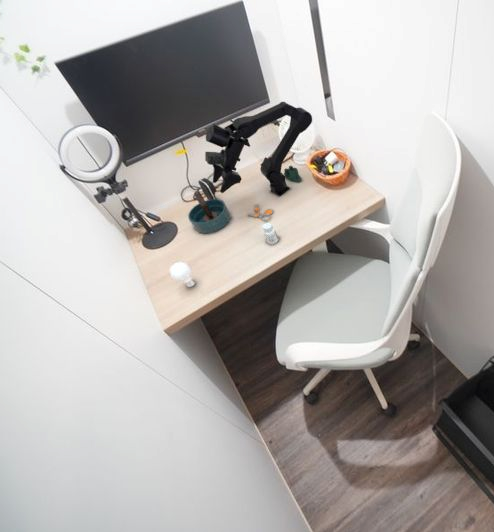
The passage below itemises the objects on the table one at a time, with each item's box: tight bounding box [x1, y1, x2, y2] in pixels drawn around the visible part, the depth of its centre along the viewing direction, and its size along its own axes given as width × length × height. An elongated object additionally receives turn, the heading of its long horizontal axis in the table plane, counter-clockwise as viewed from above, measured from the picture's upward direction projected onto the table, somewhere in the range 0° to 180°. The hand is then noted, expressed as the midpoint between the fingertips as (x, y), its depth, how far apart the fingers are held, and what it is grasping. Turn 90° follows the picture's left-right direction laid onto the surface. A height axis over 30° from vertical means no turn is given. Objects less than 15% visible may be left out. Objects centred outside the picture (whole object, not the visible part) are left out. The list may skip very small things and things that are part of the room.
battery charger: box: [198, 177, 218, 200], centre depth 141 cm, size 7×4×11 cm, turn 49°
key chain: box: [248, 203, 273, 222], centre depth 135 cm, size 13×7×1 cm, turn 54°
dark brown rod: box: [193, 190, 218, 222], centre depth 130 cm, size 6×6×15 cm
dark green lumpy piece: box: [283, 165, 303, 183], centre depth 149 cm, size 11×4×5 cm, turn 48°
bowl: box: [188, 198, 231, 234], centre depth 133 cm, size 15×15×6 cm
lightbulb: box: [169, 261, 196, 288], centre depth 109 cm, size 6×6×11 cm
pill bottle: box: [262, 222, 279, 245], centre depth 121 cm, size 4×4×8 cm
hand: (217, 187), depth 128 cm, fingers open, 9 cm apart
